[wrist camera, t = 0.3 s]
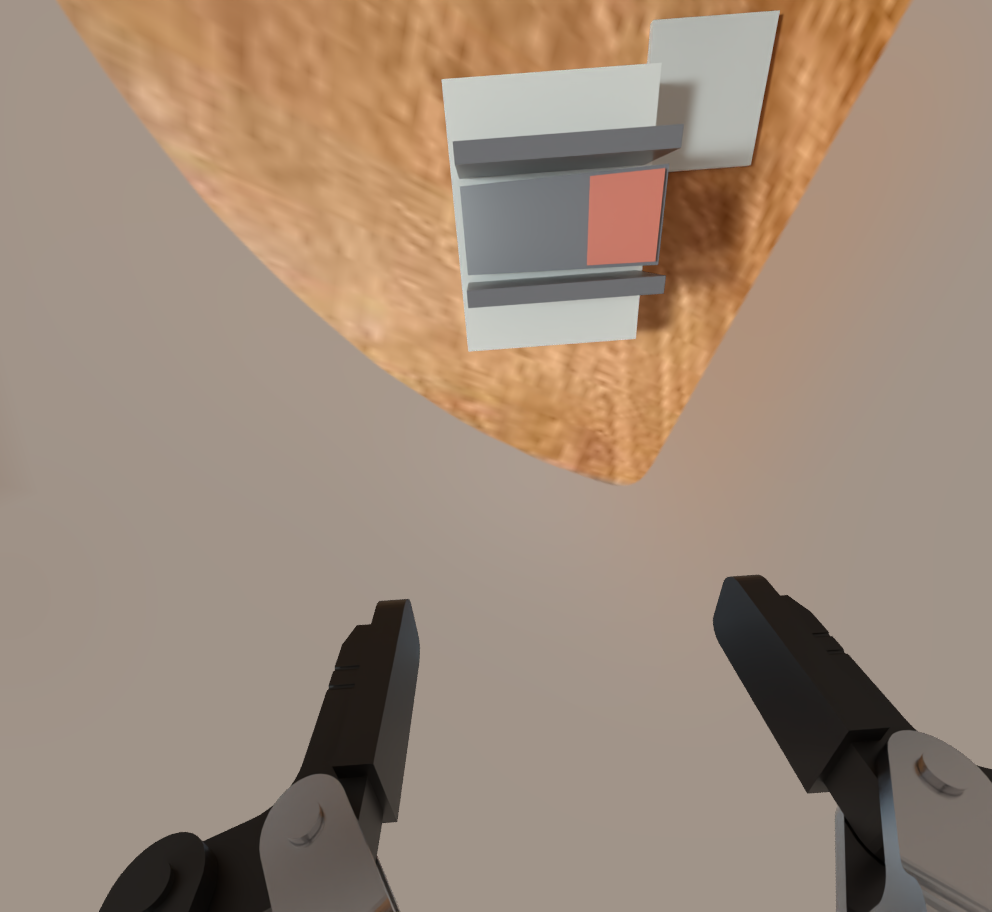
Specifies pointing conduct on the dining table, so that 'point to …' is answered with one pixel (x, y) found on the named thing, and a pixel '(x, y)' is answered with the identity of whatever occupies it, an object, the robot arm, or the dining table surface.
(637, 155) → the grey slotted holder
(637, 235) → the rocker
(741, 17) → the mat
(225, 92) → the dining table surface
